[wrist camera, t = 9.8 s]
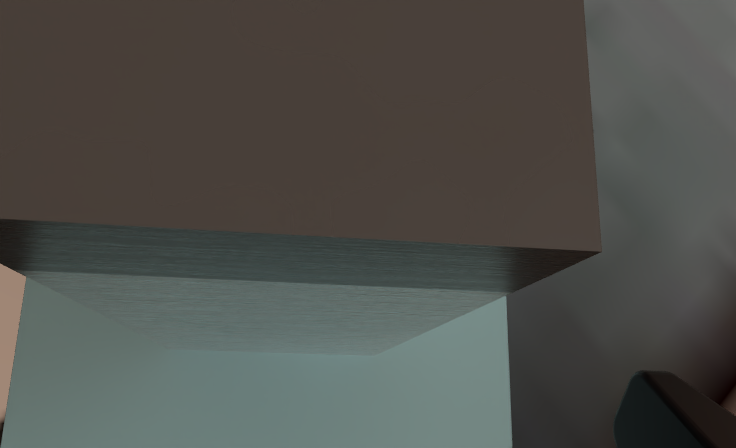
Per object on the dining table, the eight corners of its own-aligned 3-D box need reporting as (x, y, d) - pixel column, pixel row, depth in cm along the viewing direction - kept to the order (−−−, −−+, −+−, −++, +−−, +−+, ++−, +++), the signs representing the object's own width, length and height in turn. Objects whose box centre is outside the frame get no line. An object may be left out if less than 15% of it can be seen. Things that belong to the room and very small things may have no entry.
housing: (374, 356, 17) (601, 251, 5) (169, 349, 16) (-100, 213, 4) (377, 168, 18) (565, -251, 6) (188, 155, 17) (21, -336, 6)
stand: (477, 485, 19) (514, 500, 16) (38, 486, 17) (-9, 502, 15) (467, 103, 22) (496, 58, 19) (94, 75, 21) (65, 22, 18)
